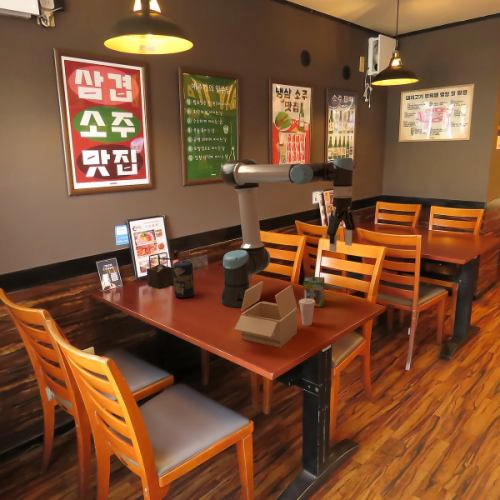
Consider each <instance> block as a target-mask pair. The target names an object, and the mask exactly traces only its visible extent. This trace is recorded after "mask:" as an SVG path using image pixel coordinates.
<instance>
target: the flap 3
mask: <svg viewBox="0 0 500 500" xmlns="http://www.w3.org/2000/svg"><path fill="white" fill-rule="evenodd" d="M274 299H275V303H276V304H277V306H278V310H279V314H280V318H283V317H284V316H285V315H286V314H288V313H289V312H290V311H291V310H293V309H294V308H295V307H297V308H298V304H297V300H296V297H295V293H294V289H293V286H292V285H289V286H288V287H285V288H284V289H283V290H281V291H280V292H278V293H277V294H276V295H274Z"/></svg>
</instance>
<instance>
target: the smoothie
mask: <svg viewBox="0 0 500 500" xmlns="http://www.w3.org/2000/svg"><path fill="white" fill-rule="evenodd" d="M298 305H299V307H300V308H299V310H300V311H301V312H300V313H301V314H300V315H301V322H302V325H303V326H312V325H313V324H312V323H313V317H314V309H315V307H314V305H315V300H313V299H308V298H306V290H305V299H304V298H301V299H299V300H298Z"/></svg>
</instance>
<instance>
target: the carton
mask: <svg viewBox="0 0 500 500" xmlns="http://www.w3.org/2000/svg"><path fill="white" fill-rule="evenodd" d="M297 308H298V307H297ZM297 308H294V309H293V310H291V311H290V312H289V313H288V314H286V315H285V316H284V317H283V318H280V314H279V310H278V306H277V305H274V304H268V303H262V301H259V302H258V303H257V302H256V303H255V304H253V306H252V307H251V306H250V307H249V308H247V309H246V310H244V311H242V313H240V316H241V315H243V316H248V317H253V318H259V319H264V320H269V321H274V322H277V325H276V328H275V330H274V332H273V335H272V337H267V336H262V335H257V334H253V333H248V332H243V331H241V339H242V340H244V341H249V342H253V343H256V344H257V343H258V344H261V345H267V346H271V347H276V348H281V349H282V347H284V346H285V345H286V344H287V343H288V342H289V341H290V340H291V339H292V338H294V336H295V335H297V333H298V314H297V313H298V312H297Z"/></svg>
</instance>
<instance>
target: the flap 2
mask: <svg viewBox="0 0 500 500" xmlns="http://www.w3.org/2000/svg"><path fill="white" fill-rule="evenodd" d="M276 325H277V322H274V321H269V320H264V319H259V318H253V317H248V316H243V315H241V314H240V316H239V319H238V320H237V323H236V325H235V327H234V331H240V332H242V331H243V332H248V333H253V334H257V335H262V336H267V337H272V335H273V332H274V330H275V328H276Z"/></svg>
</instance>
